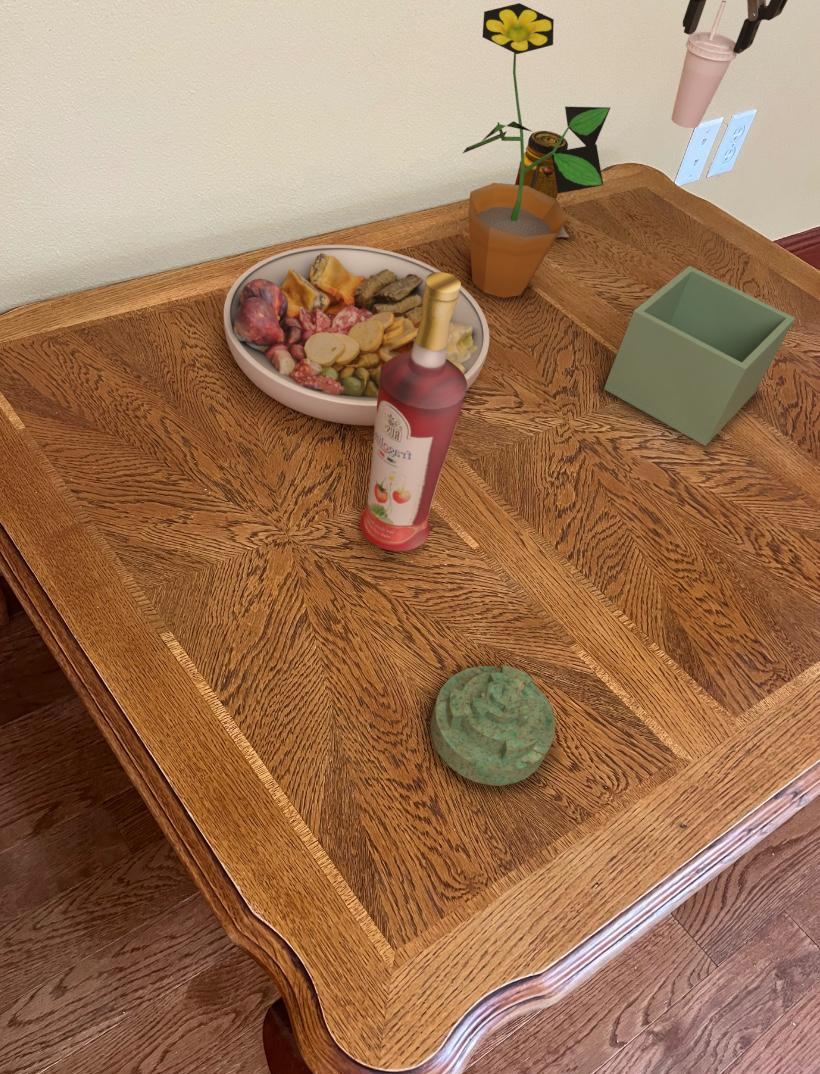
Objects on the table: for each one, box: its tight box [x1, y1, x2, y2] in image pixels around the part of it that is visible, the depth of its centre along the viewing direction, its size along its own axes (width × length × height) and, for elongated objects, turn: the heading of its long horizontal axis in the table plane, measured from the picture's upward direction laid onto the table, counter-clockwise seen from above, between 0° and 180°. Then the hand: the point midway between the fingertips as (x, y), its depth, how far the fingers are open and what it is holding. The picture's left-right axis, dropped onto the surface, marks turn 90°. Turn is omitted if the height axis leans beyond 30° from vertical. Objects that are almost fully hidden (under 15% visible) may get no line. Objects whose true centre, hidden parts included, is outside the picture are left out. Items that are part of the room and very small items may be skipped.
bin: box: [603, 265, 796, 447], centre depth 108 cm, size 14×14×11 cm
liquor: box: [359, 271, 468, 552], centre depth 81 cm, size 7×7×28 cm
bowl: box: [223, 244, 490, 427], centre depth 106 cm, size 30×30×8 cm
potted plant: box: [461, 2, 611, 299], centre depth 111 cm, size 18×19×30 cm
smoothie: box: [670, 0, 738, 129], centre depth 119 cm, size 6×6×14 cm
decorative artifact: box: [429, 664, 556, 787], centre depth 77 cm, size 10×7×10 cm
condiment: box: [514, 130, 570, 238], centre depth 128 cm, size 7×8×12 cm
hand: (713, 41), depth 116 cm, fingers closed on smoothie, 6 cm apart
